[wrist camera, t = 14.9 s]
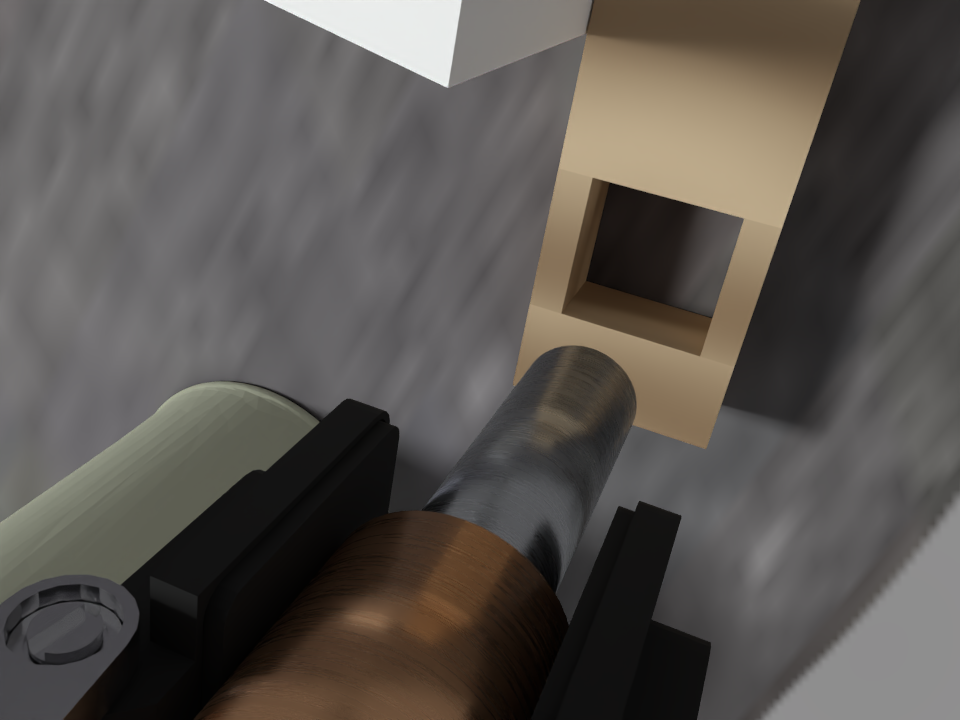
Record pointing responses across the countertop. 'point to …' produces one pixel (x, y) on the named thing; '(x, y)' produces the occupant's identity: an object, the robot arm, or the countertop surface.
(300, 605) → the awl
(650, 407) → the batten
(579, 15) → the white angled block
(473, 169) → the countertop surface
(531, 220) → the countertop surface
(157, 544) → the can
